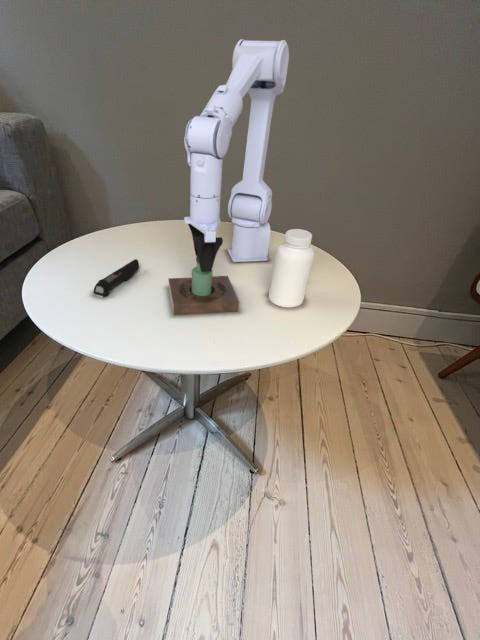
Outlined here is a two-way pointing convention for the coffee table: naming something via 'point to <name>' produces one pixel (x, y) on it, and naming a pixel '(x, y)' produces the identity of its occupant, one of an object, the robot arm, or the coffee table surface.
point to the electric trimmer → (115, 278)
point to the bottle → (201, 281)
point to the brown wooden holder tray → (202, 297)
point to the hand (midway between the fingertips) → (203, 262)
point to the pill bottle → (292, 269)
